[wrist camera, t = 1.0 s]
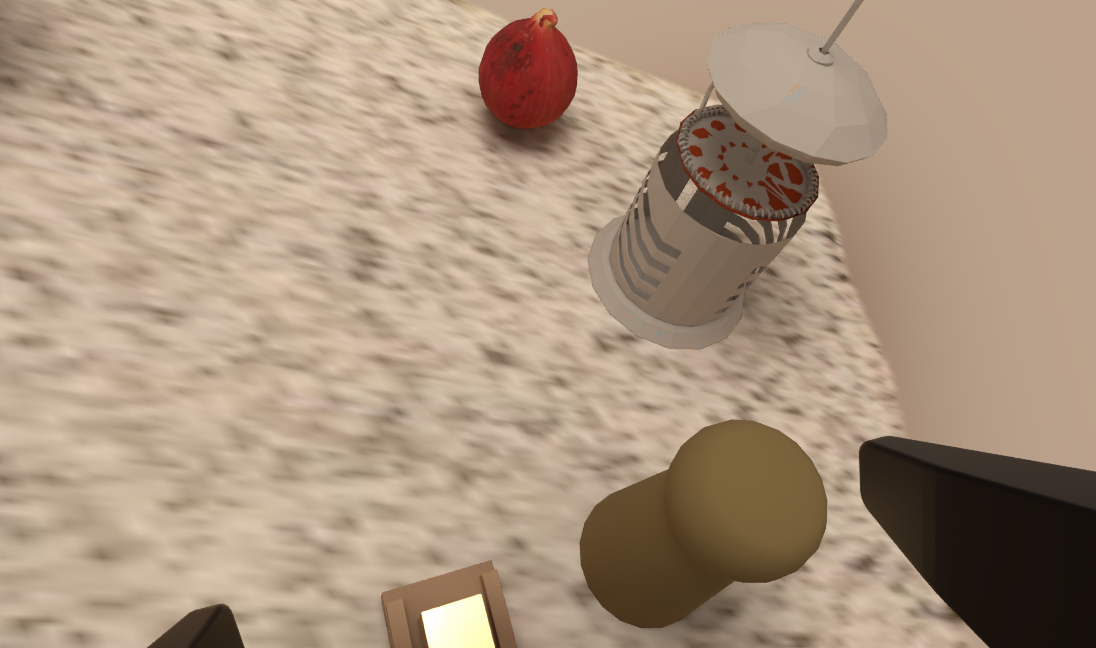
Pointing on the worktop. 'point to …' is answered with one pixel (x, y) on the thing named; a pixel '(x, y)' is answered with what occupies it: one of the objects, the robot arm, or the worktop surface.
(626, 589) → the olive pepper mill
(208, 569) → the worktop surface
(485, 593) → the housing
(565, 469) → the worktop surface
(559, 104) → the onion
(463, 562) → the worktop surface
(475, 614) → the bar
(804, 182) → the french press
